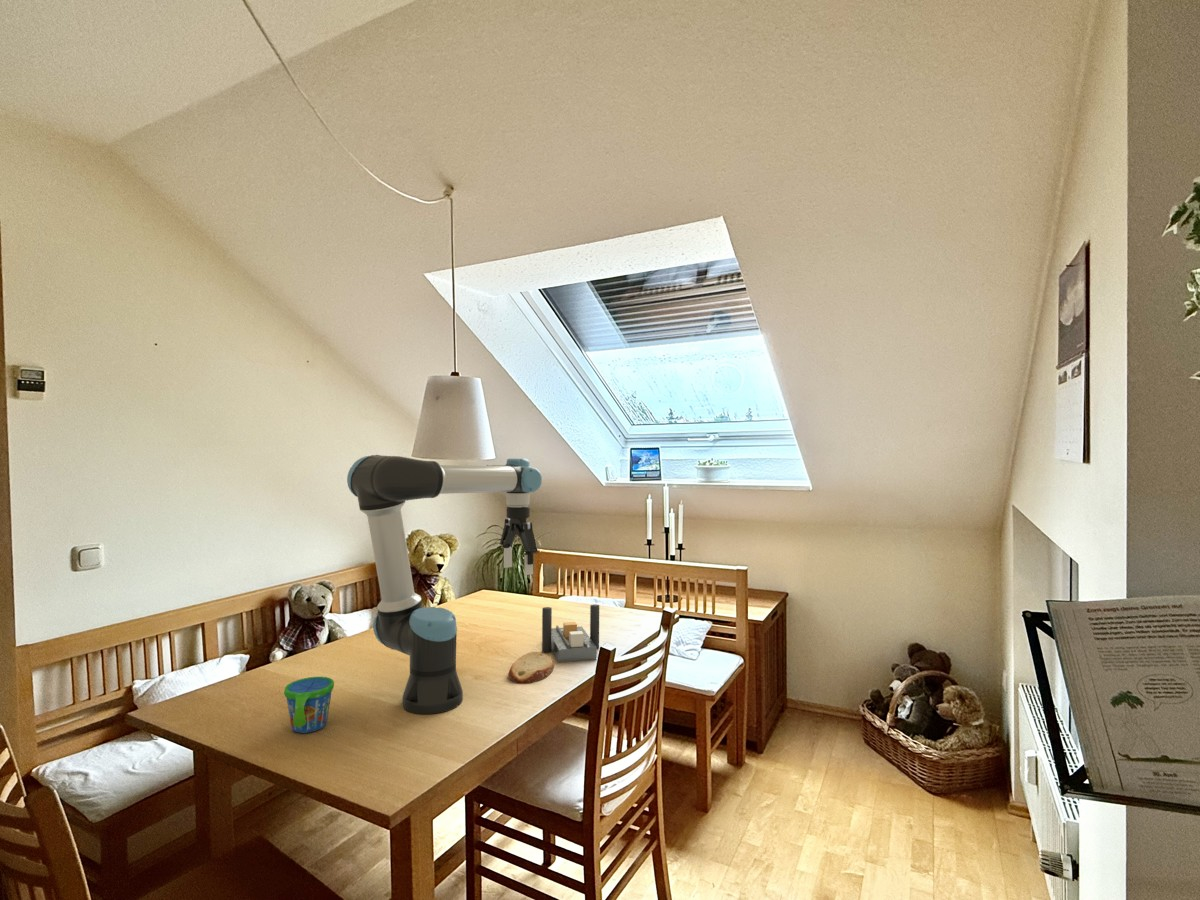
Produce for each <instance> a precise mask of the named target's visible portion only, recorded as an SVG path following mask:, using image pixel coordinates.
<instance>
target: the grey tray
mask: <svg viewBox="0 0 1200 900" xmlns="http://www.w3.org/2000/svg"><path fill="white" fill-rule="evenodd" d="M577 631H582V632H583V634H584V646H583V647H570V645H569V637H564V635H563V627H559V625H556V626H555V627H554V628H551V651H552V652H553V655H554V656H555V658H556V660H557V662H558V663H573V662H583V661H586V662H587V661H595V660H596V658H597V656H598V655H597V653H598V652H597V650H598V649H597V647H596V645H595V644H594V643H593V641H592V640H591V639H590V635H589V634H588V633H587V632H586V630H585V629H584V627H583V626H577Z"/></svg>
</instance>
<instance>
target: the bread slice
mask: <svg viewBox="0 0 1200 900" xmlns="http://www.w3.org/2000/svg"><path fill="white" fill-rule="evenodd" d="M554 668H555V664H554V660H553V658H552V657H551V656H550V655H548V654H547V653H543V652H539V651H529V652H527V653H526V654H523V655H522V656H521V657H519V658H518V659H517V660H515V661H514V662H513V663H512V665H511V666H510V668H509V671H508V675H507V677H509V679H510V681H512V682H514V683H515V684H518V685H528V684H532V683H534V682H537V681H542V680H544V679H546V678H547V677H548V676H550V675H551V674H552V673H553V671H554Z"/></svg>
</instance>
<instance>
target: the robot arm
mask: <svg viewBox="0 0 1200 900" xmlns="http://www.w3.org/2000/svg"><path fill="white" fill-rule="evenodd" d="M542 477H543V476H542V474H541V472H540V470H539V469H538V468H536V467H533V466H531V465H530V460H529V459H528V458H521V457H520V458H516V457H515V458H507V459H506V464H504V465H503V464H500V465H498V464H497V465H496V464H495V465H494V464H493V465H492V464H491V465H489V464H487V465H462V464H461V465H453V464H452V465H451V464H449V465H448V464H445V465H444V464H440V463H439V462H437V461H434V460H421V459H416V458H410V457H406V456H400V455H399V456H397V455H380V454H373V455H372V454H371V455H366V456H362V457H360V458H359V459H357V460H356V461H355V462H353V464H352V465H351V467H349V470H348V473H347V477H346V482H347V487H348V489H349V491H350V492H351V493H352V495H354V496H355V497H357V501H358V507H359V511H360V512H362V513H364V514H365V515H366V516H367V522H368V523H367V524H368V528H369V535H370V539H371V544H372V550H373V556H374V563H375V568H376V575H377V579H378V585H379V592H380V597H381V601H379V603H378V604H377V607H376V609H377V612H376V617H374V619H373V623H372V624H373V628H372V629H373V634H374V637H375V638H376V639H377V641H378V642H379V643H380V644H382V645H384V646H385V647H386V648H388V649H390V650H394V651H397V652H400V653H402V654H404V655H407V656H409V676H408V678H407V682H406V685H405V688H404V691H403V694H402V703H401V705H402V708H403V710H405V711H406V712H409V713H413V714H418V715H431V714H439V713H444V712H447V711H451V710H452V709H455V708H456V707H458V706H460V705H461V704H462V702H463V699H464V697H463V696H464V695H463V694H464V693H463V692H464V691H463V688H462V684H461V682H460V678H459V674H458V672H457V634H458V633H457V632H458V626H457V619H456V615H455V614H454V613H453V612H452V610H449V609H446V608H444V607H436V606H425V607H423V601H422V596H421V595H420V594H418V593H416V592H415V588H414V582H413V575H412V570H411V565H410V558H409V550H408V545H407V539H406V534H405V529H404V528H405V527H404V521H403V515H402V508H403V506H404V505H405V503H406V501H412V500H413V501H414V500H421V499H422V500H424V499H433V498H434V499H435V498H437V497H439V496H440V495H443V494H445V495H447V494H479V493H506V497H505V499H506V505H507V507H506V518H505V519H504V526H503V529H502V533H501V538H500V542H499V545H500V546H502V548H503V569H506V568H507V569H508V568H513V542H514V540H515V537H516V536H517V537H518V538H519V539H520V541H521V544H522V546H523V548H524V551H525V552H524V558H523V559H524V565H523V566H524V568H523V569H524V576H529V575H534V554H537V553H538V547H537V546H538V545H537V542H536V537H535V535H534V530H533V522H527V519H528V518H530V517H531V514H530V513H531V512H530V511H531V510H530V509H531V507H530V498H531V494H530V493H535V492H537V491H538V490H540V488H541V485H542Z"/></svg>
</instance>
